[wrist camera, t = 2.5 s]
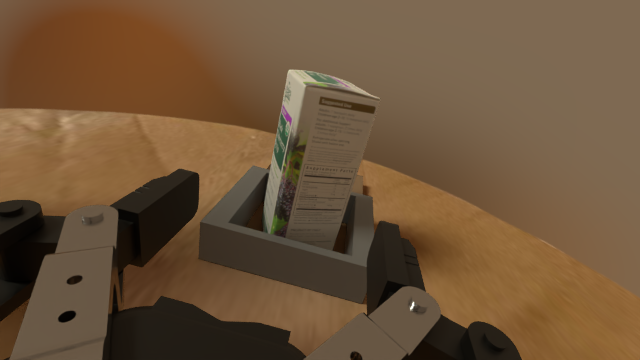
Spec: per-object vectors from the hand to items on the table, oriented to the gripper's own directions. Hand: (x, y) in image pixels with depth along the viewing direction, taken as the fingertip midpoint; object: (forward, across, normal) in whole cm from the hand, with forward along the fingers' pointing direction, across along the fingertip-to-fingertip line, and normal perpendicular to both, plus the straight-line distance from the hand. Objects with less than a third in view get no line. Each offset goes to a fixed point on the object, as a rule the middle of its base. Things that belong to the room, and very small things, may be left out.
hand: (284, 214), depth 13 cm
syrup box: (+12, 0, +10) cm, 15 cm away
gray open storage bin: (+12, 0, +10) cm, 15 cm away
